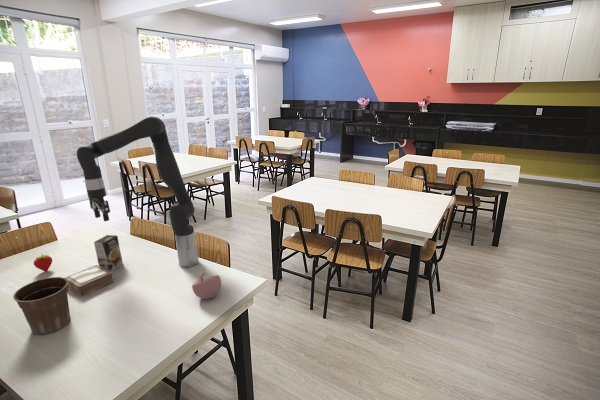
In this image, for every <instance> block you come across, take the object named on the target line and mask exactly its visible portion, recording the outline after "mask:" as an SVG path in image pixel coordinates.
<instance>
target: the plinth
mask: <svg viewBox="0 0 600 400" xmlns="http://www.w3.org/2000/svg"><path fill="white" fill-rule="evenodd" d="M64 278H65V279H67V280H68V285H67V288H68V290H70V291H72V292H74V293H75V294H77V295H78V296H80V297H81V298H82V297H85V296H87V295H89V294H91V293H93V292H96V291H97V290H100V289H102V288H104V287H107V286H109V285H111V284H113V283H114V282H115V281H114V276H113V273H112V271H111V272H109V271H107V270H106V269H104V268H102V267H100V266H99V264H98V265H97V264H95V265H93V266H90V267H88V268H86V269H83V270H81V271H78V272H76V273H73V274H71V275H68V276H66V277H64Z"/></svg>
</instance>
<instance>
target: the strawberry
mask: <svg viewBox="0 0 600 400" xmlns="http://www.w3.org/2000/svg"><path fill="white" fill-rule="evenodd" d="M52 263H53V258H52V256H50V255H47V254H43V253H41V255H40V256H37V257H36V258H35V260H34V261H33V265H34V267H36V269H38V270H40V271H43V272H47V271H48V270H49V268H50V267H51V266H52Z"/></svg>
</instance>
